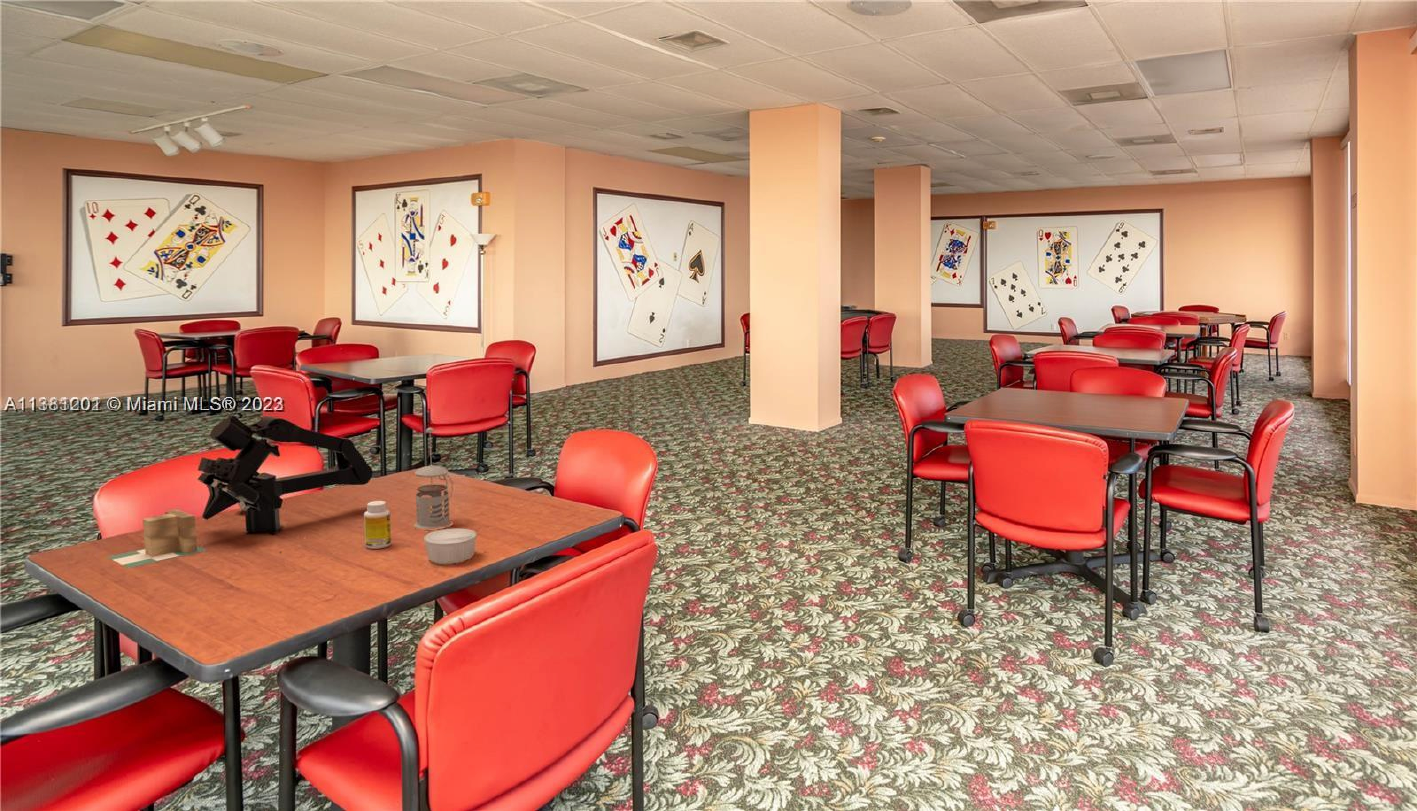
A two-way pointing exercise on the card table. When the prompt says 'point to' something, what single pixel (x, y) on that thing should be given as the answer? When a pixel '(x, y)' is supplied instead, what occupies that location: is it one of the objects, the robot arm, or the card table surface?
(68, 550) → the card table surface
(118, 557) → the board
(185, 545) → the oak t block
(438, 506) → the french press
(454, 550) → the ramekin
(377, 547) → the supplement bottle
